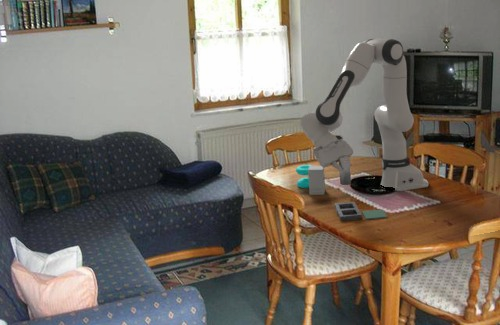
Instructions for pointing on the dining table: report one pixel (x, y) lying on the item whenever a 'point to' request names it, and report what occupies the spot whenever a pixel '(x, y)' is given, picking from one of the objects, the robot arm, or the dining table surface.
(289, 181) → the dining table surface
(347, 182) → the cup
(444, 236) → the dining table surface
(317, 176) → the supplement box
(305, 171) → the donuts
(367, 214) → the mat
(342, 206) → the grey double frame
